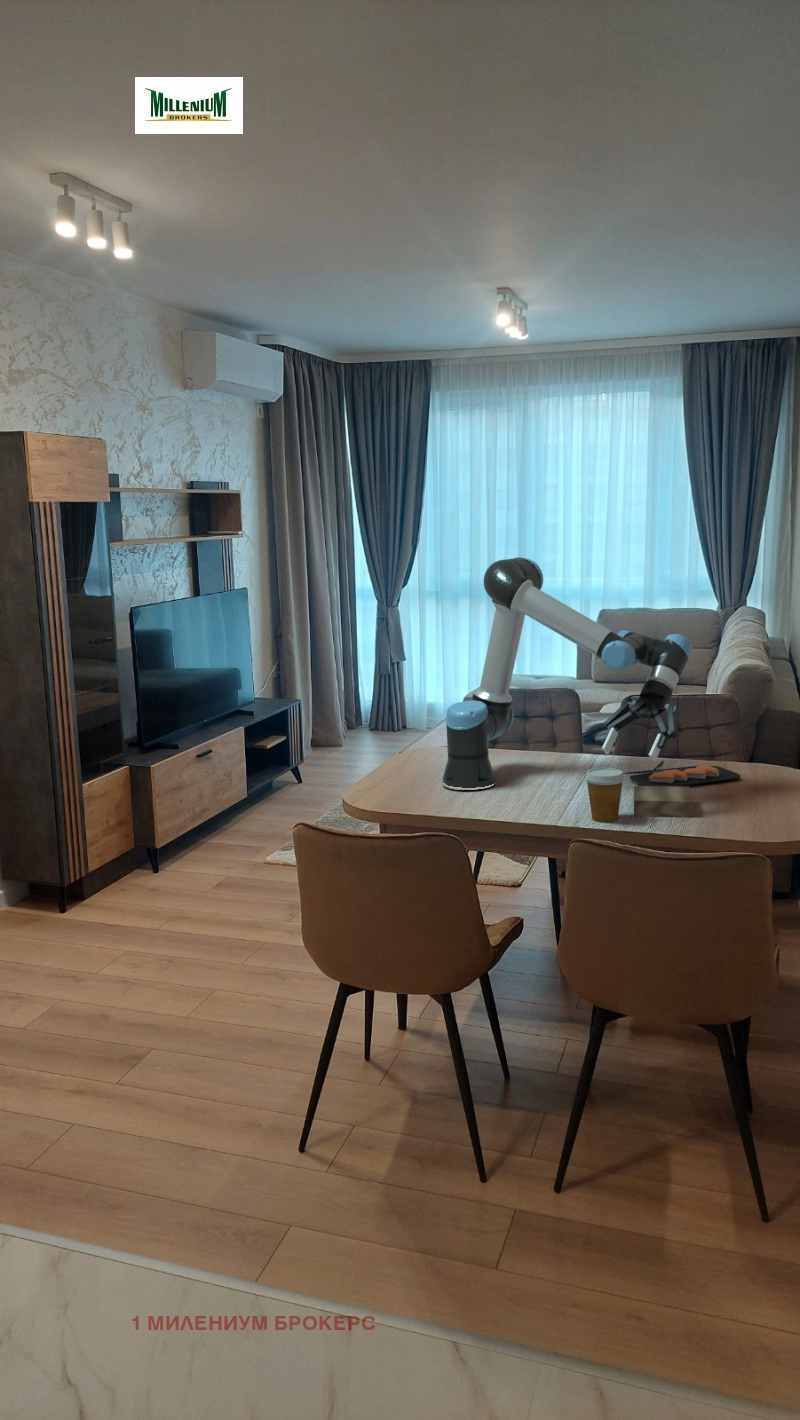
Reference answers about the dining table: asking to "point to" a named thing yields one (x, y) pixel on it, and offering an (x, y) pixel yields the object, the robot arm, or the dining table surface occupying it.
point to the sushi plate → (683, 776)
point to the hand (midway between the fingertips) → (627, 754)
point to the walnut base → (662, 801)
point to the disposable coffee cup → (604, 793)
